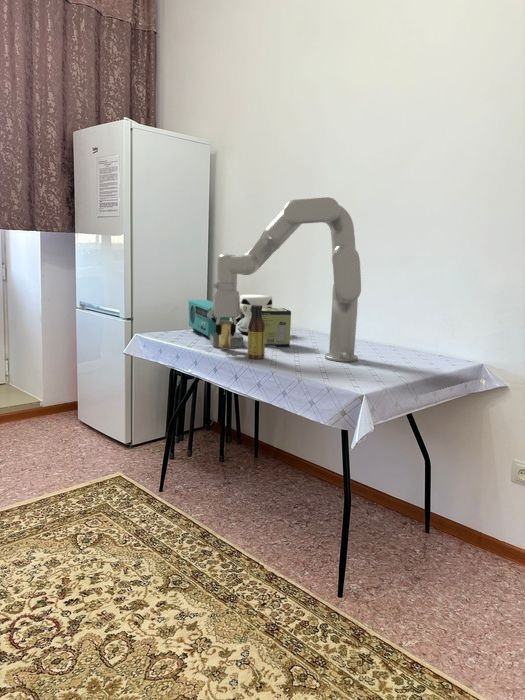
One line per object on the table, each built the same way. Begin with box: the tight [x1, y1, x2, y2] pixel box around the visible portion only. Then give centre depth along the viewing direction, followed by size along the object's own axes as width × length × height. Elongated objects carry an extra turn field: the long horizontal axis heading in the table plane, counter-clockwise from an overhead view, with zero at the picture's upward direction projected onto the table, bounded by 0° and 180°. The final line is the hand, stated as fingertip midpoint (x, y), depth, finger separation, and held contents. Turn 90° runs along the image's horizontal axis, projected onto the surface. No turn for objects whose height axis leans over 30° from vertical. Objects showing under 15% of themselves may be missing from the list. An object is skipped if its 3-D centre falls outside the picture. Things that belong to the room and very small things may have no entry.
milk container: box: [236, 294, 273, 335], centre depth 255 cm, size 17×17×18 cm
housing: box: [209, 332, 244, 349], centre depth 219 cm, size 12×12×5 cm
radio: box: [188, 299, 231, 340], centre depth 243 cm, size 34×10×15 cm, turn 23°
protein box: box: [250, 307, 292, 348], centre depth 225 cm, size 10×16×16 cm
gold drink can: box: [218, 320, 233, 349], centre depth 207 cm, size 5×5×10 cm
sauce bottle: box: [247, 305, 266, 360], centre depth 198 cm, size 6×6×20 cm
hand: (225, 334), depth 207 cm, fingers closed on gold drink can, 4 cm apart
